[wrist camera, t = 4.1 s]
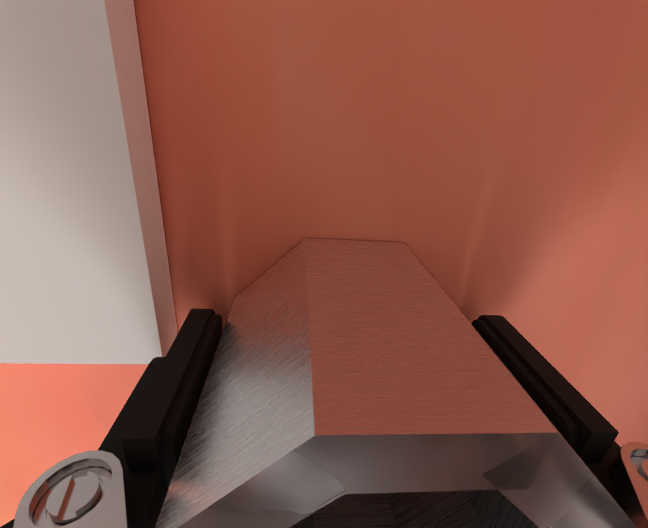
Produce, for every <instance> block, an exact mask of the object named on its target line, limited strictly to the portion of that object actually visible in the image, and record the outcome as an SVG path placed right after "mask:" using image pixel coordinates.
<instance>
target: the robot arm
mask: <svg viewBox="0 0 648 528" xmlns="http://www.w3.org/2000/svg"><path fill="white" fill-rule="evenodd" d="M472 326H473V327H474V328H475V329H476V331H477V332H478V333H479V334H480V336H481V337H482V338H483V339H484V340H485V342H486V343H487V344H488V345H489V347H490V348H491V349H492V350H493V352H494V353H495V354H496V355H497V356H498V358H499V359H500V360H501V361H502V363H503V364H504V365H505V366H506V368H507V369H508V370H509V371H510V372H511V374H512V375H513V376H514V377H515V379H516V380H517V381H518V382H519V383H520V385H521V386H522V387H523V388H524V390H525V391H526V392H527V393H528V395H529V396H530V397H531V398H532V399H533V401H534V402H535V403H536V404H537V406H538V407H539V408H540V409H541V410H542V412H543V413H544V414H545V415H546V417H547V418H548V419H549V420H550V422H551V423H552V424H553V425H554V426H555V428H556V429H557V430H558V431H559V433H560V434H561V435H562V436H563V438H564V439H565V440H566V441H567V442H568V444H569V445H570V446H571V447H572V449H573V450H574V451H575V452H576V453H577V455H578V456H579V457H580V458H581V460H582V461H583V462H584V463H585V465H586V466H587V467H588V468H589V469H590V471H591V472H592V473H593V474H594V476H595V477H596V478H597V479H598V480H599V482H600V483H601V484H602V485H603V487H604V488H605V489H606V490H607V492H608V493H609V494H610V495H611V496H612V498H613V499H614V500H615V501H616V503H617V504H618V505H619V506H620V507H621V509H622V510H623V511H624V512H625V514H626V515H627V516H628V517H629V519H630V520H631V521H632V522H633V523H634V525H635V526H636V528H648V444H644V443H640V442H629V443H627V444H625V445H623V446H622V448H621V447H620V446H619V445H618V444H617V443H616V442H615V441H614V440H615V438H616V437H617V435H618V433H619V432H618V431H617V430H616V429H615V428H614V427H613V426H612V425H611V424H610V423H609V422H608V421H607V420H606V419H605V418H604V417H603V416H602V415H601V414H600V413H599V412H598V411H597V410H596V409H595V408H594V407H593V406H592V405H591V404H590V403H589V402H588V401H587V400H586V399H585V398H584V397H583V396H582V395H581V394H580V393H579V392H578V391H577V390H576V389H575V388H574V387H573V386H572V385H571V384H570V383H569V382H568V381H567V380H566V379H565V378H564V377H563V376H562V375H561V374H560V373H559V372H558V371H557V370H556V369H555V368H554V367H553V366H552V365H551V364H550V363H549V362H548V361H547V360H546V359H545V358H544V357H543V356H542V355H541V354H540V353H539V352H538V351H537V350H536V349H535V348H534V347H533V346H532V345H531V344H530V343H529V342H528V341H527V340H526V339H525V338H524V337H523V336H522V335H521V334H520V333H519V332H518V331H517V330H516V329H515V328H514V327H513V326H512V325H511V324H510V323H509V322H508V321H507V320H506V319H505V318H504V317H502V316H498V315H481V316H479V317H478V319H477V320H474V321H473V322H472ZM222 333H223V330H222V317H221V315H219V314H215V312H214V310H213V309H191V311H190V312H189V314H188V316H187V318H186V320H185V322H184V323H183V325H182V327H181V329H180V331H179V333H178V334H177V336H176V338H175V340H174V342H173V344H172V345H171V347H170V349H169V351H168V353H167V355H166V356H165V357H155V358H153V359H152V361H151V362H150V363H149V365H148V367H147V368H146V370H145V372H144V373H143V375H142V377H141V378H140V380H139V382H138V384H137V385H136V387H135V389H134V390H133V392H132V394H131V395H130V397H129V399H128V400H127V402H126V404H125V405H124V407H123V409H122V410H121V412H120V414H119V416H118V417H117V419H116V421H115V422H114V424H113V426H112V427H111V429H110V431H109V432H108V434H107V436H106V437H105V439H104V441H103V443H102V444H101V446H100V448H99V449H98V451H87V452H83V453H79V454H76V455H73V456H71V457H69V458H67V459H65V460H62V461H60V462H58V463H57V464H56V465H54V466H53V467H51V468H50V469H48V470H47V471H46V472H44V473H43V474H42V475H41V476H40V477H39V478H38V479H37V480H36V481H35V482H34V483H33V484H32V485H31V486H30V487H29V489H28V490H27V492H26V493H25V494H24V496H23V497H22V499H21V501H20V504H19V506H18V509H17V512H16V515H15V519H13V520H11V521H10V522H8V523H7V524H5V525H3V526H2V527H0V528H155V527H156V524H157V521H158V518H159V516H160V513H161V510H162V507H163V504H164V501H165V498H166V495H167V492H168V489H169V487H170V484H171V481H172V478H173V475H174V472H175V469H176V466H177V463H178V461H179V458H180V455H181V452H182V449H183V446H184V443H185V440H186V437H187V434H188V432H189V429H190V426H191V423H192V420H193V417H194V414H195V411H196V408H197V405H198V403H199V400H200V397H201V394H202V391H203V388H204V385H205V382H206V379H207V377H208V374H209V371H210V368H211V365H212V362H213V359H214V356H215V353H216V350H217V348H218V345H219V342H220V339H221V336H222Z"/></svg>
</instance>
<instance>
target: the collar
mask: <svg viewBox="0 0 648 528" xmlns="http://www.w3.org/2000/svg"><path fill="white" fill-rule="evenodd" d="M155 528H636V526H635V525H634V523H633V522H632V521H631V520H630V519H629V517H628V516H627V515H626V514H625V512H624V511H623V510H622V509H621V507H620V506H619V505H618V504H617V503H616V501H615V500H614V499H613V498H612V496H611V495H610V494H609V493H608V492H607V490H606V489H605V488H604V487H603V485H602V484H601V483H600V482H599V480H598V479H597V478H596V477H595V476H594V474H593V473H592V472H591V471H590V469H589V468H588V467H587V466H586V465H585V463H584V462H583V461H582V460H581V458H580V457H579V456H578V455H577V453H576V452H575V451H574V450H573V449H572V447H571V446H570V445H569V444H568V442H567V441H566V440H565V439H564V438H563V436H562V435H561V434H560V433H559V431H558V430H557V429H556V428H555V426H554V425H553V424H552V423H551V422H550V420H549V419H548V418H547V417H546V415H545V414H544V413H543V412H542V410H541V409H540V408H539V407H538V406H537V404H536V403H535V402H534V401H533V399H532V398H531V397H530V396H529V395H528V393H527V392H526V391H525V390H524V388H523V387H522V386H521V385H520V383H519V382H518V381H517V380H516V379H515V377H514V376H513V375H512V374H511V372H510V371H509V370H508V369H507V368H506V366H505V365H504V364H503V363H502V361H501V360H500V359H499V358H498V356H497V355H496V354H495V353H494V352H493V350H492V349H491V348H490V347H489V345H488V344H487V343H486V342H485V340H484V339H483V338H482V337H481V336H480V334H479V333H478V332H477V331H476V329H475V328H474V327H473V326H472V325H471V323H470V322H469V321H468V320H467V318H466V317H465V316H464V315H463V313H462V312H461V311H460V310H459V309H458V307H457V306H456V305H455V304H454V303H453V301H452V300H451V299H450V298H449V296H448V295H447V294H446V293H445V292H444V290H443V289H442V288H441V287H440V286H439V284H438V283H437V282H436V281H435V279H434V278H433V277H432V276H431V275H430V273H429V272H428V271H427V270H426V268H425V267H424V266H423V265H422V264H421V262H420V261H419V260H418V259H417V258H416V256H415V255H414V254H413V253H412V251H411V250H410V249H409V248H408V247H407V245H406V244H405V243H404V242H384V241H361V240H337V239H314V238H305V239H303V240H302V241H301V242H300V243H299V244H298V245H296V246H295V247H294V248H293V249H292V250H291V251H289V252H288V253H287V254H286V255H285V256H284V257H282V258H281V259H280V260H279V261H278V262H277V263H275V264H274V265H273V266H272V267H271V268H270V269H268V270H267V271H266V272H265V273H264V274H263V275H261V276H260V277H259V278H258V279H257V280H256V281H254V282H253V283H252V284H251V285H250V286H249V287H247V288H246V289H245V290H244V291H243V292H242V293H240V294H239V295H238V296H237V297H236V298H235V299H234V301H233V304H232V307H231V310H230V313H229V316H228V319H227V321H226V324H225V327H224V330H223V333H222V336H221V339H220V342H219V345H218V348H217V350H216V353H215V356H214V359H213V362H212V365H211V368H210V371H209V374H208V377H207V379H206V382H205V385H204V388H203V391H202V394H201V397H200V400H199V403H198V405H197V408H196V411H195V414H194V417H193V420H192V423H191V426H190V429H189V432H188V434H187V437H186V440H185V443H184V446H183V449H182V452H181V455H180V458H179V461H178V463H177V466H176V469H175V472H174V475H173V478H172V481H171V484H170V487H169V489H168V492H167V495H166V498H165V501H164V504H163V507H162V510H161V513H160V516H159V518H158V521H157V524H156V527H155Z"/></svg>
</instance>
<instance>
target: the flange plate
mask: <svg viewBox="0 0 648 528" xmlns="http://www.w3.org/2000/svg"><path fill="white" fill-rule="evenodd" d="M177 334H178V331H177V323H176V316H175V308H174V301H173V293H172V286H171V278H170V271H169V263H168V256H167V248H166V241H165V233H164V226H163V218H162V211H161V203H160V196H159V188H158V181H157V173H156V166H155V158H154V151H153V143H152V136H151V128H150V121H149V113H148V106H147V99H146V91H145V84H144V76H143V69H142V61H141V54H140V46H139V39H138V31H137V24H136V16H135V9H134V1H133V0H0V363H44V364H149V363H150V362H151V361H152V359H153V358H155V357H165V356H166V355H167V353H168V351H169V349H170V347H171V345H172V344H173V342H174V340H175V338H176V336H177Z"/></svg>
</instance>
